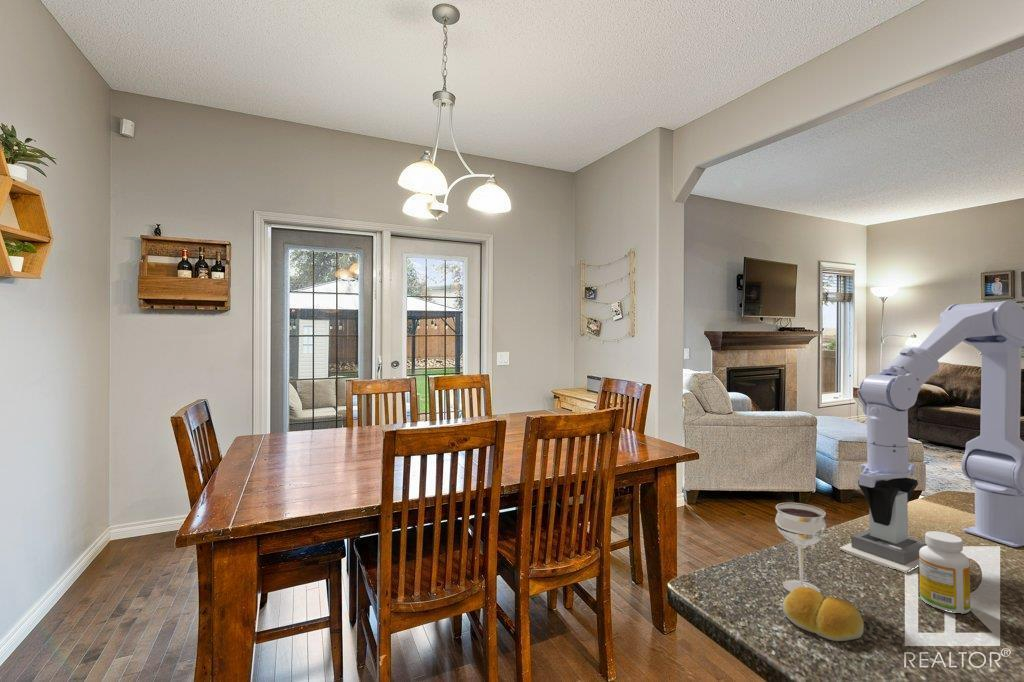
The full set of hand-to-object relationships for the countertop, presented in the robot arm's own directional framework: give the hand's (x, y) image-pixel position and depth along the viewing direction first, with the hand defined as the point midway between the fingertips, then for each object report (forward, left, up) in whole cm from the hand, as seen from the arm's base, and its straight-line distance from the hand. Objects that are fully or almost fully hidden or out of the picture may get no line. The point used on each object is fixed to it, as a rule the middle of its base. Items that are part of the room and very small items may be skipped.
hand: (888, 521), depth 85 cm
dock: (0, 0, -6) cm, 6 cm away
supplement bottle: (+9, +14, -6) cm, 18 cm away
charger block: (0, 0, -3) cm, 3 cm away
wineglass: (+24, +4, -6) cm, 25 cm away
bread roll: (+29, +12, -6) cm, 32 cm away
